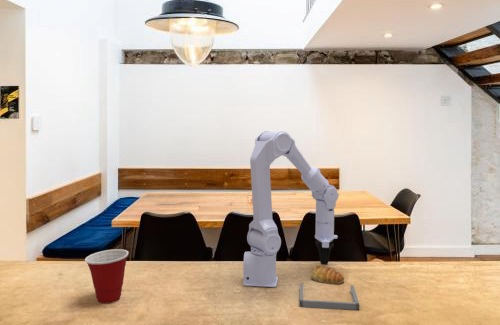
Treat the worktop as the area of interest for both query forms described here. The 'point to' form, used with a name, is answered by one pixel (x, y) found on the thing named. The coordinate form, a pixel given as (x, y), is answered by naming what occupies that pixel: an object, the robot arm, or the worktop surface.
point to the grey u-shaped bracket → (330, 302)
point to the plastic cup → (107, 273)
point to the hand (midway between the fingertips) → (324, 264)
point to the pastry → (327, 275)
